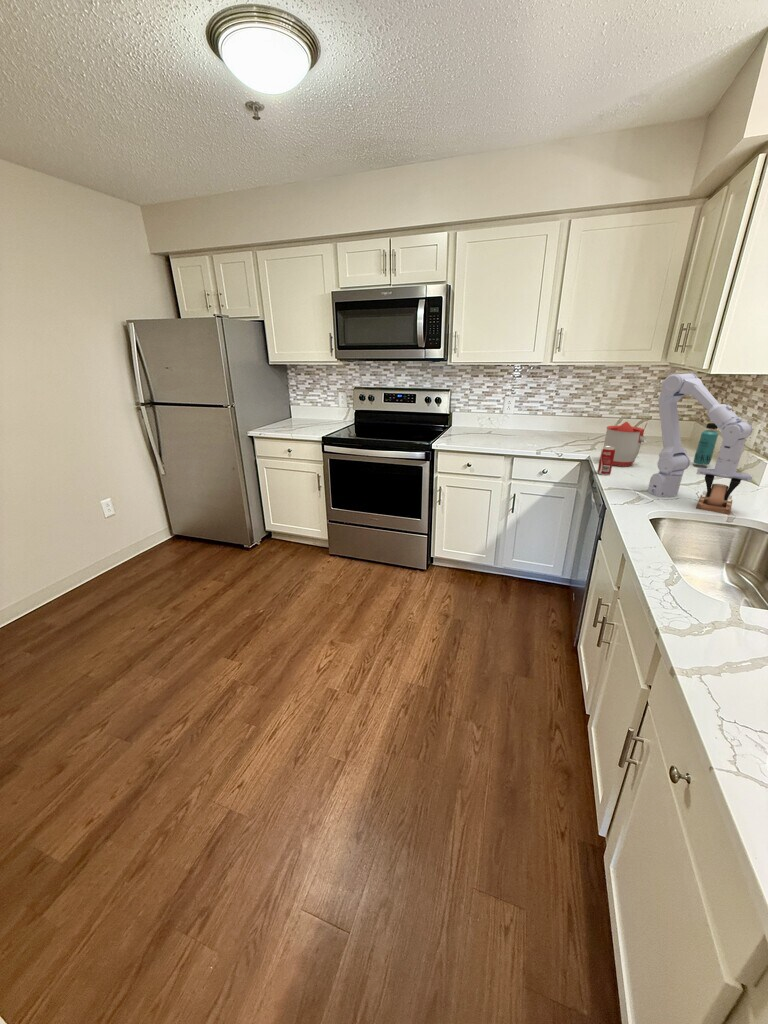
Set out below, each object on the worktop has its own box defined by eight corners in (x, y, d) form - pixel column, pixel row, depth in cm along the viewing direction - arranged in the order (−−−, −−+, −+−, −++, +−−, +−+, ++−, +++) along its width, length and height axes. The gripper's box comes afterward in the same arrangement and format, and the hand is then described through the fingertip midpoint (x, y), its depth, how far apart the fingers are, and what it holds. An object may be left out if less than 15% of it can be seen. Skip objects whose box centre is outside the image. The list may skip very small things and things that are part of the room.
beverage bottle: (693, 463, 201) (705, 421, 194) (710, 466, 197) (723, 423, 189) (690, 466, 197) (702, 423, 190) (707, 469, 192) (720, 425, 185)
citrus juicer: (635, 470, 191) (645, 426, 183) (595, 464, 202) (603, 422, 194) (644, 463, 201) (654, 421, 194) (605, 457, 212) (613, 417, 205)
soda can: (599, 471, 190) (604, 445, 185) (611, 473, 187) (617, 446, 182) (595, 474, 186) (600, 447, 181) (608, 476, 183) (614, 449, 178)
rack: (729, 517, 139) (731, 510, 138) (694, 510, 145) (696, 504, 144) (731, 502, 152) (733, 495, 151) (700, 496, 158) (702, 490, 157)
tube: (714, 507, 142) (720, 487, 140) (703, 503, 146) (709, 483, 144) (725, 506, 143) (732, 487, 140) (714, 502, 147) (720, 483, 144)
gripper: (700, 457, 140) (689, 496, 145) (756, 465, 131) (743, 505, 136) (702, 453, 145) (692, 491, 150) (756, 460, 136) (744, 499, 141)
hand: (716, 497), depth 144 cm, fingers closed on tube, 4 cm apart
